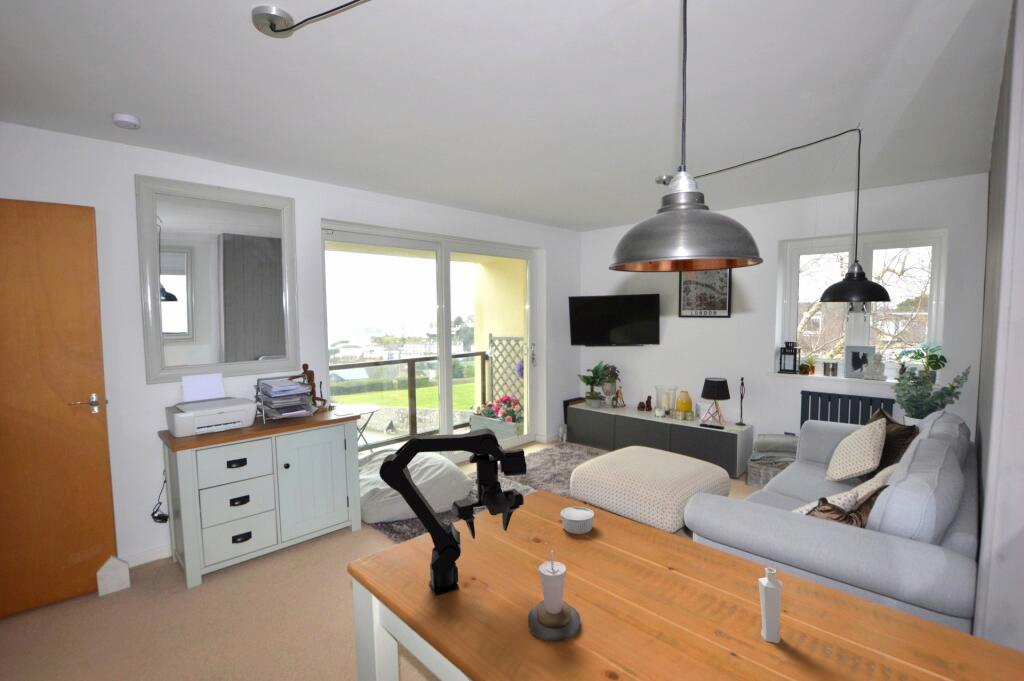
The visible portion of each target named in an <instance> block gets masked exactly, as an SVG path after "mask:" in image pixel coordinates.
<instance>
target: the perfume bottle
mask: <svg viewBox="0 0 1024 681" xmlns="http://www.w3.org/2000/svg"><path fill="white" fill-rule="evenodd" d="M764 570H765V577H760V578H758V589H759V600H760V611H761V612H760V613H761V623H762V624H761V625H762V628H761V630H760V635H761V637H762V638H763V639H764V641H766V642H768V643H775V644H780V641H781V634H780V618H781V608H782V607H781V606H782V605H781V604H782V595H783V594H782V593H783V582H782V581H781V580H779V579H777V577H776V576H777V575H776V573H777V569H775V568H772V567H765V568H764Z"/></svg>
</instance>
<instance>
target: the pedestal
mask: <svg viewBox="0 0 1024 681" xmlns="http://www.w3.org/2000/svg"><path fill="white" fill-rule="evenodd" d="M527 626H528V629H529V631H530V632H531V634H533V635H534V636H535V637H537V638H538V639H540V640H543V641H547V642H554V643H555V642H563V641H568V640H569V639H572V638H574V637H575V636H576V635H577V634H578V633H579V631H580V629H581V615H580V613H579V612H578V611H577V609H576V608H574V607H573V606H572V605H570V604H569V603H568V602H567V601H565V600H563V599H562V609H561V611H560V612H559V613H557V614H551V613H548V612H547V611H546V609H545V602H544V599H543V600H541V601H540V602H539V603H537V604H536V605H535V606H533V607H532V608H531V609H530V611H529V612H528V615H527Z"/></svg>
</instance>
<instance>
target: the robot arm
mask: <svg viewBox="0 0 1024 681" xmlns="http://www.w3.org/2000/svg"><path fill="white" fill-rule="evenodd" d="M461 451H462V452H467V453H471V455H470V456H469V458H468V459H469V463H470V464H476V465H475V466H476V479H475V484H476V488H477V493H476V494H475V498H476V499H477V501H472V502H470V501H469V500H468V499H467V498H463V499H458V500H454V501H453V503H452V505H451V508H452V509H451V510H452V513H453V514H454V515H455V516H456V517H457V518H458V519H459V520H460V519H461V520H463V521H464V522H465V524H466V526H467V528H468V530H469V533H470V535H471V537H472V539H473V540H475V539H476V531H475V519H476V517H475V515H474V513H475V510H479V509H483V508H486V509H487V510H488V513H489V515H491V516H497V515H500V514H501V518H502V528H503V530H504V531H505V532H507V530H508V527H509V524H510V521H511V518H512V516H513V513H514V512H515V511H516V510H518V509H520V507H521V506H523V505H524V504H525V498H524V495H523V494H522V493H521V492H519V491H518V490H517V489H515V488H512V489H507V490H502V484H501V482H500V481H499V470H500V473H501V474H503V475H504V476H505V477H513V476H515V477H517V476H526V475H527V469H528V468H527V467H528V465H527V462H526V456H525V450H524V449H523V448H517V449H510V450H504V449H503V446H502V445H500V443H499V442H498V438H497V436H496V433H495V432H494V431H493V430H492V429H491V428H487V427H486V428H485V427H484V428H480V429H476V430H472V431H469V432H466V433H465V432H464V433H457V434H455V433H454V434H429V435H427V434H426V435H419V434H413V435H412V436H410V437H409V439H408V440H407V441H406V442H405V443H404V444H403V445H402V446H400V447H399V449H396V451H395V452H394V453H389V454H388V455H386V456H385V457H384V459H383V461H382V463H381V465H380V467H379V473H378V474H379V477H380V478H381V480H382V481H383V482H384V483H385V484H387V485H388V487H390V489H392V490H394V491H396V492H397V493H399V494H400V495H401V497H402V498H403V499H404V501H405V502H406V504H408V507H410V510H411V511H412V512H413V514H414V515H415V517H416V518H418V521H420V522H421V524H422V525H423V526H424V528H425V529H426V531H427V532H428V534H429V535H430V538H431V541H432V543H433V546H434V547H433V548H432V550H431V561H430V563H429V573H430V576H429V577H430V580H429V581H428V584H429V586H430V588H431V590H432V592H433V593H434V595H435V596H437V595H440V594H444V593H448V592H451V591H454V590H458V589H460V586H459V584H458V583H459V568H458V566H457V562H456V561H457V560H458V559H460V556H461V553H462V551H461V550H462V547H461V546H462V545H461V532H460V531H458V530H457V528H456V527H455V525H454V523H453V522H452V521H451V522H450V523H449V524H446V523H445V522H444V521H442V519H441V518H440V517H439V516H438V514H437V512H435V510H434V509H433V507H432V505H431V504H430V503H429V501H428V500H427V499H426V497H425V496H424V494H423V493H422V492H421V491H420V489H419V487H417V484H416V483H415V482H414V480H413V478H412V476H411V472H410V470H409V468H408V465H409V464H410V463H411V462H412V461H413V459H414V458H415V457H416V456H417V455H418V454H419V453H437V452H439V453H440V452H461Z"/></svg>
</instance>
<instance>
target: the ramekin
mask: <svg viewBox="0 0 1024 681" xmlns="http://www.w3.org/2000/svg"><path fill="white" fill-rule="evenodd" d="M560 518H561V523H562V527H563V529H564V531H565V532H568V533H570V534H573V535H583V534H584V535H585V534H588V533H589V532H591V530H592V529H593V524H594V519H595V512H594V511H593V510H592V509H590V508H587V507H583V506H570V507H569V506H568V507H565V508H563V509H562V510H561V511H560Z"/></svg>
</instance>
